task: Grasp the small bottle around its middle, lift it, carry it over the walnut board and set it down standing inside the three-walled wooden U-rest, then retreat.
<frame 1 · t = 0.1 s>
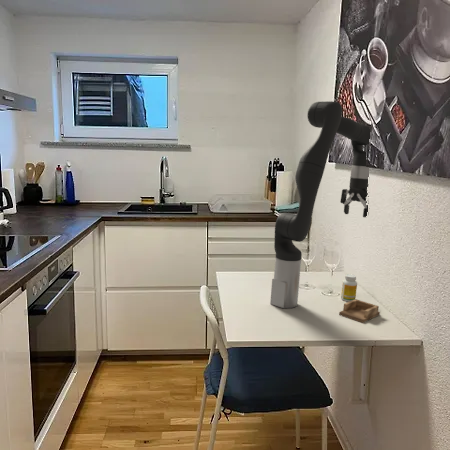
hand: (355, 215, 198), 29 cm above the table, fingers open, 8 cm apart
supplement bottle: (347, 300, 180), on the table
u rest: (359, 314, 165), on the table
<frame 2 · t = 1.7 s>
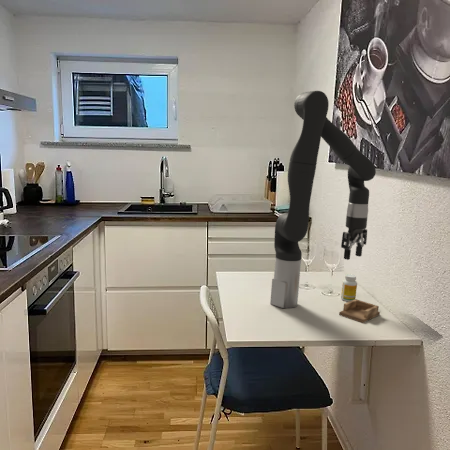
hand: (352, 257, 177), 17 cm above the table, fingers open, 8 cm apart
nothing on the table moved.
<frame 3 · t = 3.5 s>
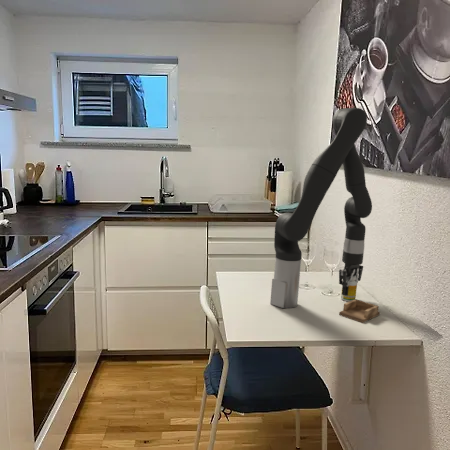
hand: (348, 293, 180), 3 cm above the table, fingers closed on supplement bottle, 5 cm apart
supplement bottle: (348, 300, 180), on the table, touching gripper
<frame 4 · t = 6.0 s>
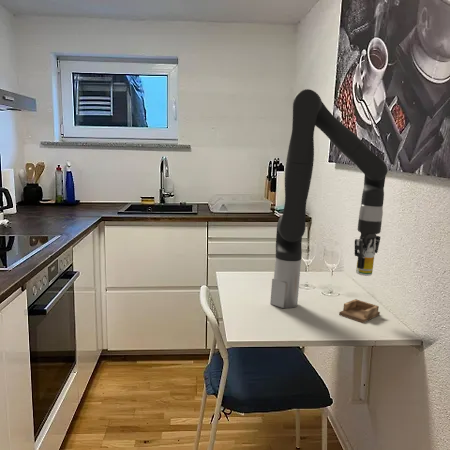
hand: (364, 266, 162), 17 cm above the table, fingers closed on supplement bottle, 5 cm apart
supplement bottle: (363, 274, 162), point 15 cm above the table, touching gripper
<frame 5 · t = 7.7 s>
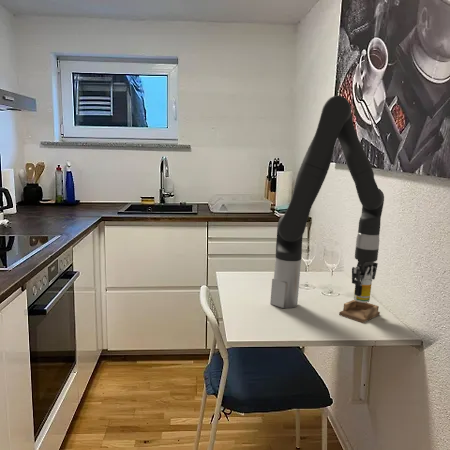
hand: (362, 293, 164), 8 cm above the table, fingers closed on supplement bottle, 5 cm apart
supplement bottle: (361, 301, 164), point 5 cm above the table, touching gripper
when the fingers open (5 cm above the table, at t = 8.8 s): supplement bottle drops 1 cm, resting on u rest.
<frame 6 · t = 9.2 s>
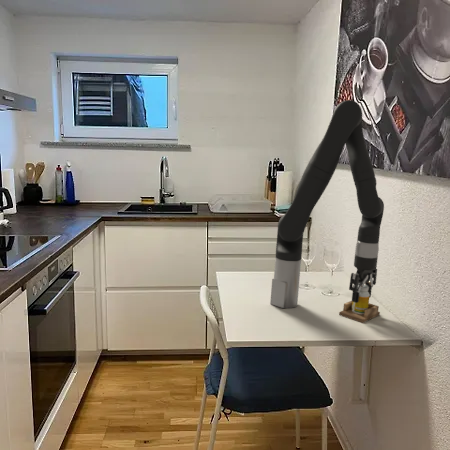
hand: (361, 299, 164), 6 cm above the table, fingers open, 8 cm apart
supplement bottle: (359, 312, 165), point 1 cm above the table, touching u rest
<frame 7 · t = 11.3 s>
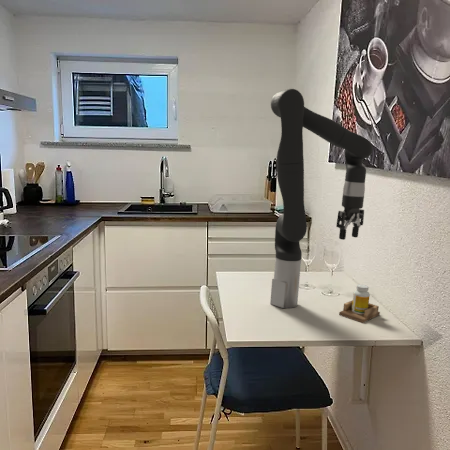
hand: (348, 238, 173), 24 cm above the table, fingers open, 8 cm apart
nothing on the table moved.
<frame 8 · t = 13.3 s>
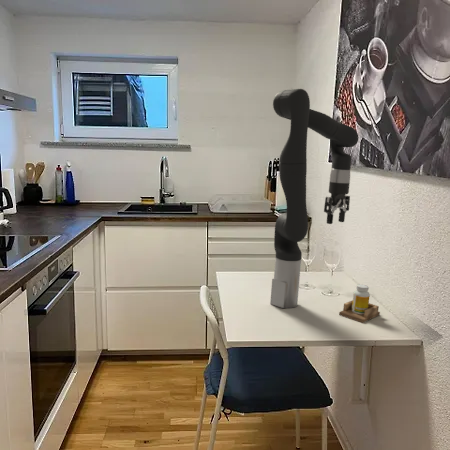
hand: (335, 222, 183), 28 cm above the table, fingers open, 8 cm apart
nothing on the table moved.
at the end: supplement bottle inside the target area on the u rest (0.2 cm from its centre), point 0.8 cm above the u rest's base; supplement bottle tilted 0°; the gripper is holding nothing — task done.
